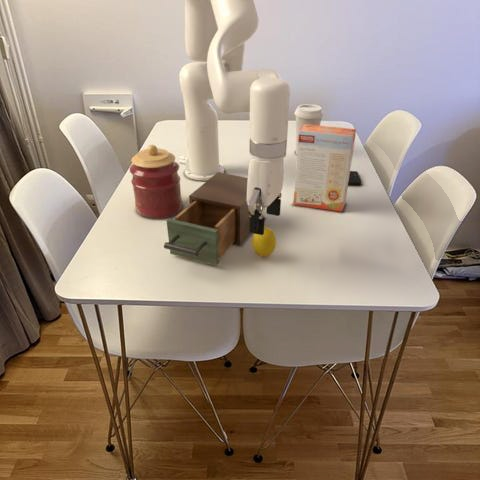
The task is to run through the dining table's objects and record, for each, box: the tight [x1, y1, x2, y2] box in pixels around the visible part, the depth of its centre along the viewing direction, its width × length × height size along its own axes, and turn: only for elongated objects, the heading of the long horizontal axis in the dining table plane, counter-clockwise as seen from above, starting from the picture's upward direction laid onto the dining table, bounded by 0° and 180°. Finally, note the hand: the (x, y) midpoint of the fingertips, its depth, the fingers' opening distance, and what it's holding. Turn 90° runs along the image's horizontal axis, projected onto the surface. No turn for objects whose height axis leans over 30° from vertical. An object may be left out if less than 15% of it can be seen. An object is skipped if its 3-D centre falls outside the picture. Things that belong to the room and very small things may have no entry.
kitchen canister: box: [129, 144, 183, 219], centre depth 123 cm, size 13×13×18 cm
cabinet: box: [188, 172, 265, 247], centre depth 118 cm, size 16×14×11 cm
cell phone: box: [348, 170, 362, 186], centre depth 144 cm, size 9×18×1 cm, turn 87°
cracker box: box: [293, 124, 357, 212], centre depth 124 cm, size 14×6×21 cm, turn 71°
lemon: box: [251, 226, 277, 258], centre depth 107 cm, size 6×6×8 cm
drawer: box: [163, 200, 237, 267], centre depth 108 cm, size 20×12×9 cm, turn 156°
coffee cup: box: [294, 103, 324, 155], centre depth 156 cm, size 10×10×15 cm
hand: (265, 223), depth 104 cm, fingers open, 9 cm apart
